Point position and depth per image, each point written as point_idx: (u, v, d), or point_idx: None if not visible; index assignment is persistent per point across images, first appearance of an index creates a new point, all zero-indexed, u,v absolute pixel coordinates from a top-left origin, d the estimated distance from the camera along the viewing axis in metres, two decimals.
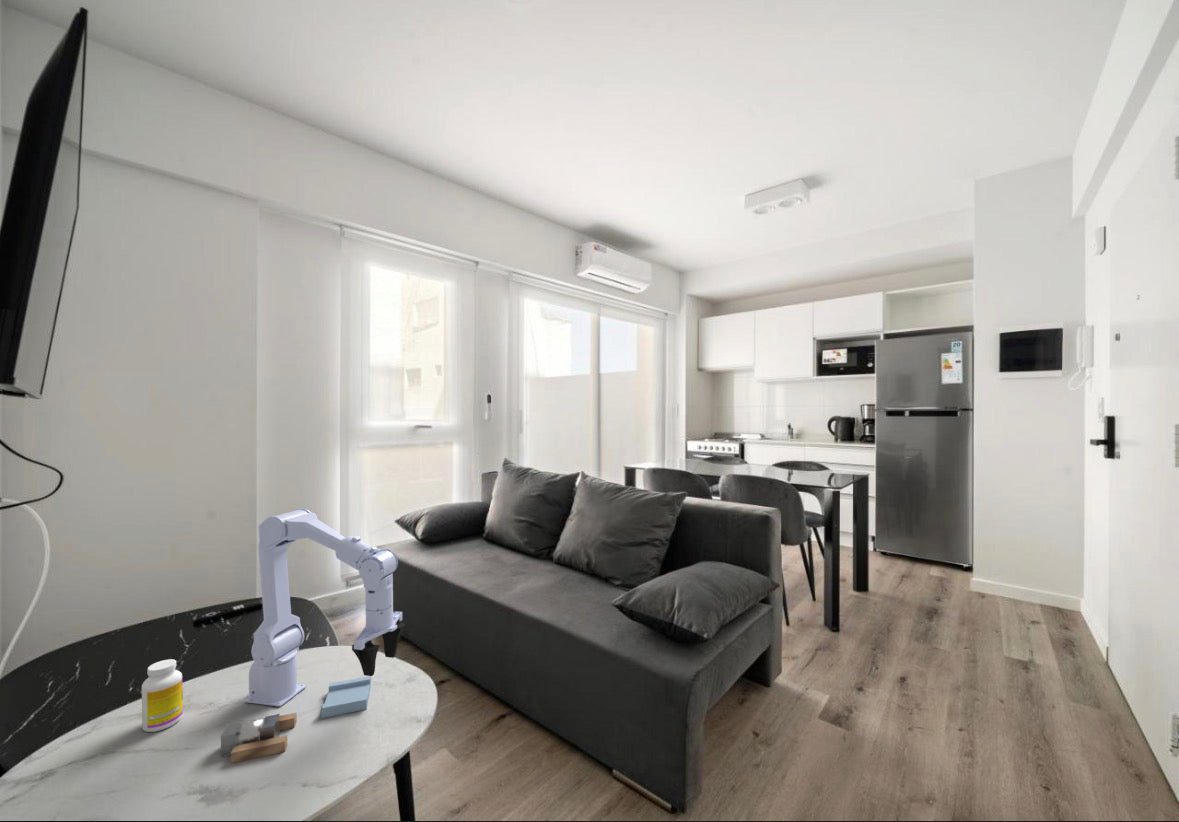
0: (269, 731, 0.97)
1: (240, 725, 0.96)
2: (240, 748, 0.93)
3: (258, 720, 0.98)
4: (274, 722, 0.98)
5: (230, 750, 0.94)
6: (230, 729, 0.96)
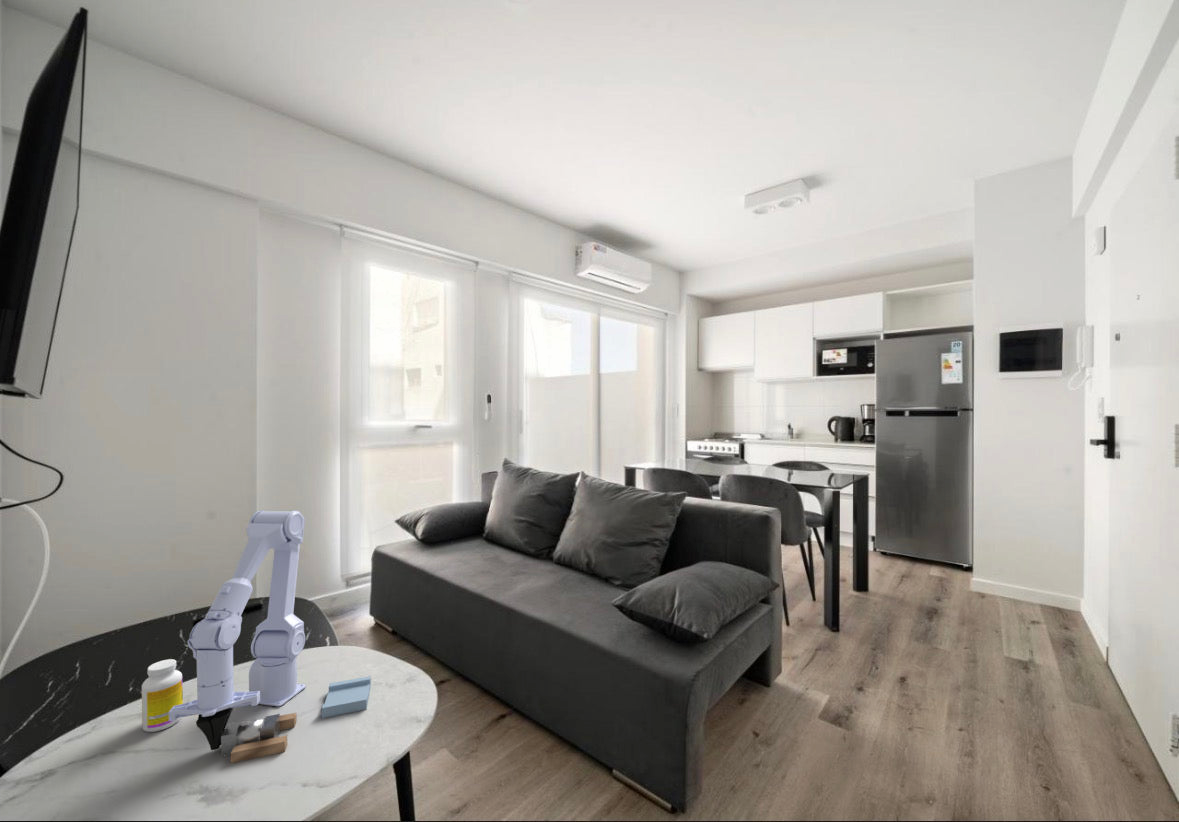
0: (270, 731, 0.97)
1: (240, 725, 0.96)
2: (240, 748, 0.93)
3: (258, 720, 0.98)
4: (274, 722, 0.98)
5: (230, 750, 0.94)
6: (230, 729, 0.96)
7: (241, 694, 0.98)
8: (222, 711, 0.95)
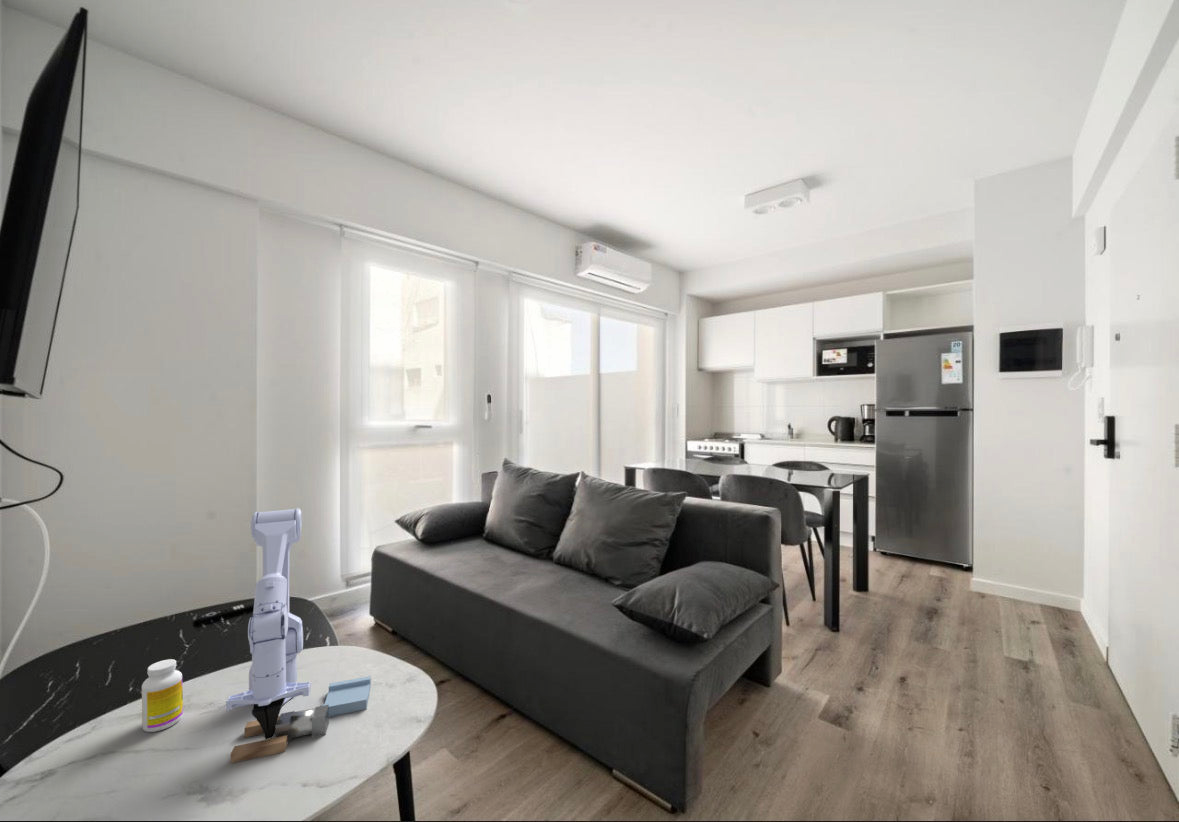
0: (321, 721, 1.00)
1: (293, 715, 0.99)
2: (240, 748, 0.93)
3: (309, 710, 1.01)
4: (325, 712, 1.01)
5: None
6: (283, 719, 0.99)
7: (292, 685, 1.01)
8: (276, 701, 0.98)
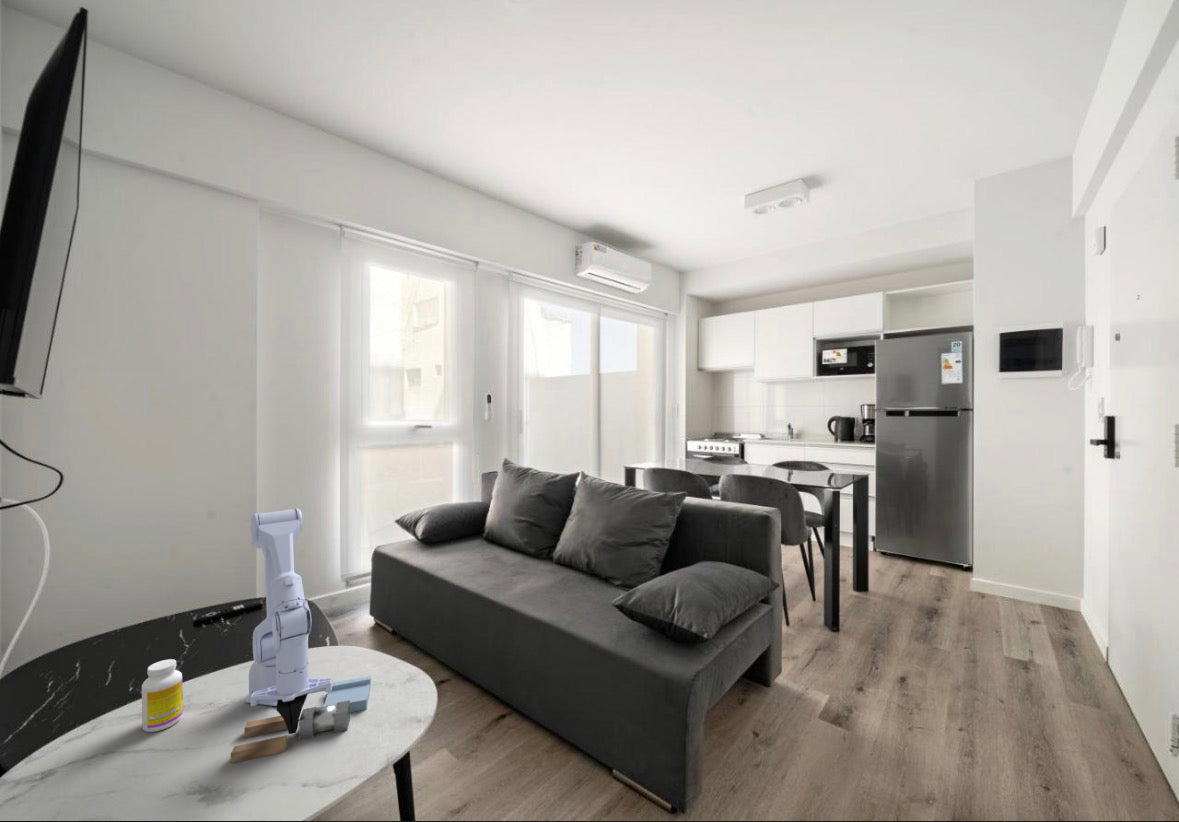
0: (343, 716, 1.01)
1: (315, 710, 1.01)
2: (240, 748, 0.93)
3: (331, 706, 1.02)
4: (347, 708, 1.03)
5: (307, 734, 0.99)
6: (306, 714, 1.00)
7: (315, 681, 1.02)
8: (299, 697, 0.99)
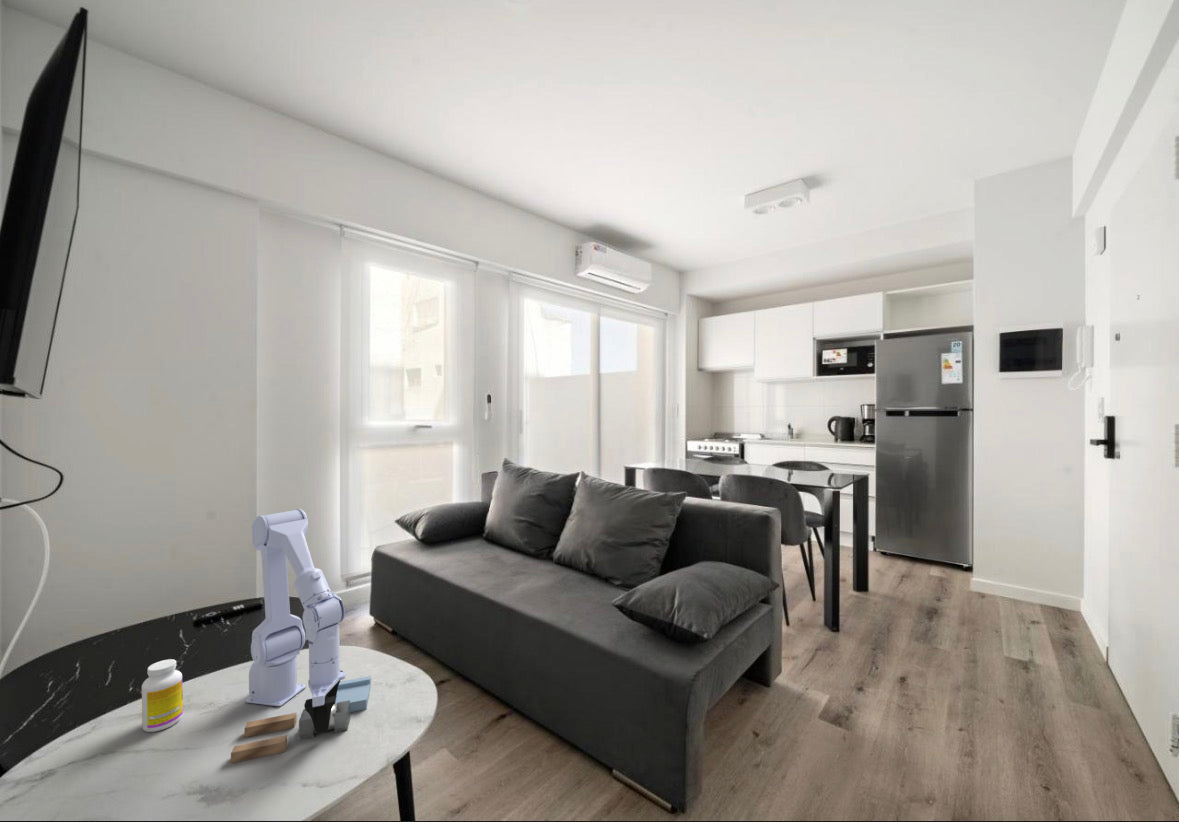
0: (343, 716, 1.01)
1: None
2: (240, 748, 0.93)
3: None
4: (347, 708, 1.03)
5: (307, 734, 0.99)
6: (306, 714, 1.00)
7: None
8: None
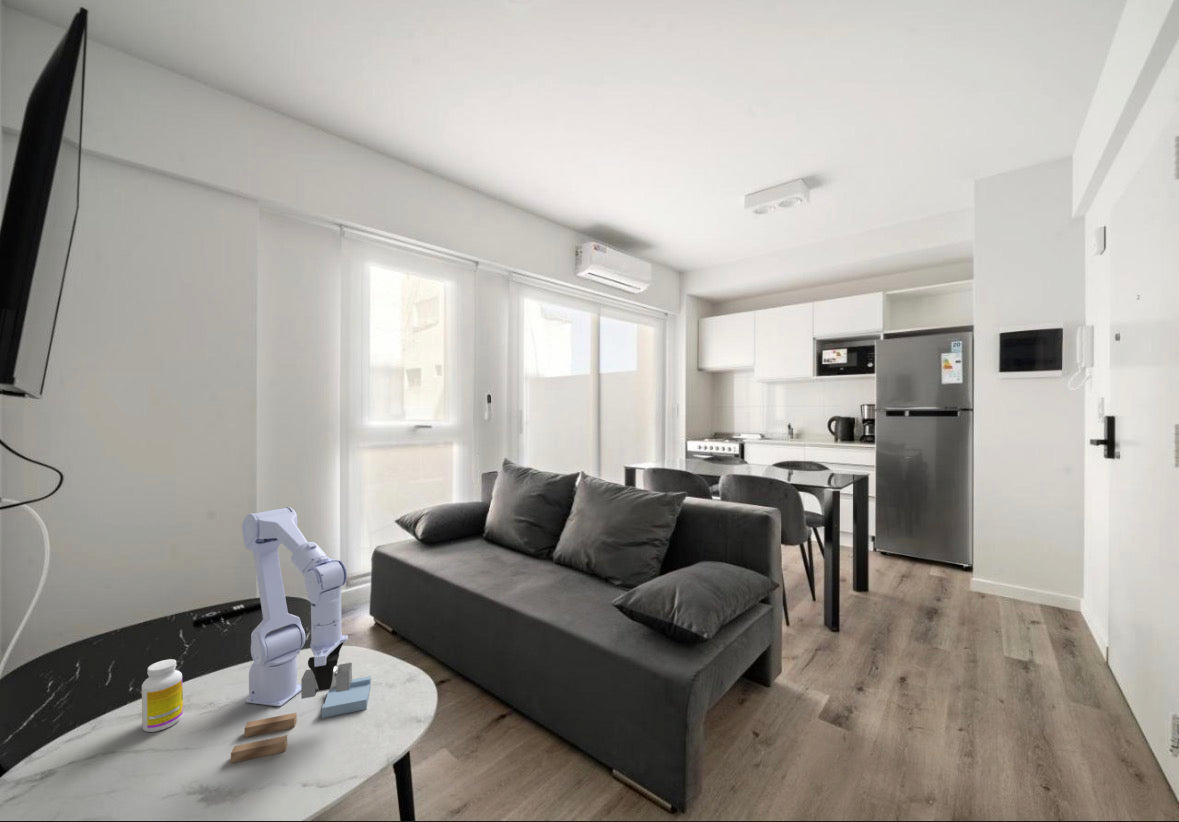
0: (345, 676, 1.02)
1: None
2: (240, 748, 0.93)
3: None
4: (348, 668, 1.04)
5: (309, 693, 1.00)
6: (308, 674, 1.01)
7: None
8: None
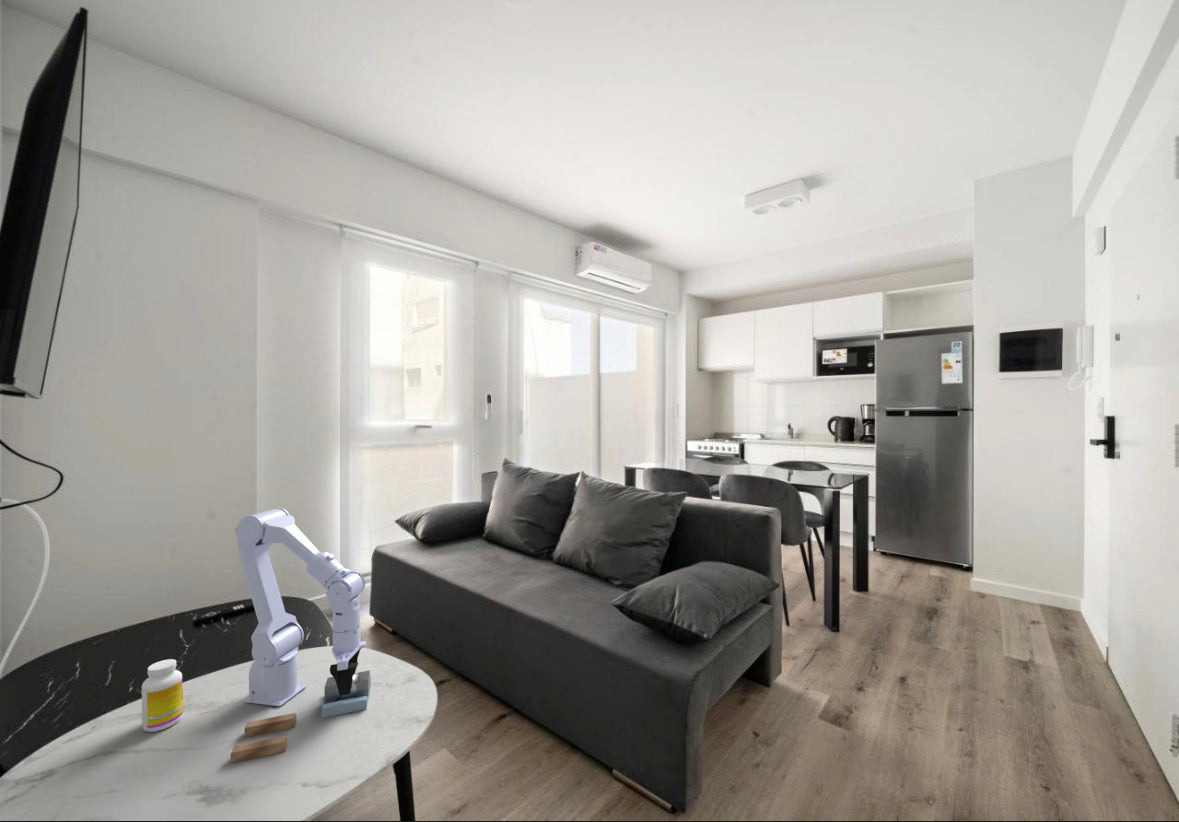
0: (364, 684, 1.11)
1: None
2: (240, 748, 0.93)
3: (353, 675, 1.12)
4: (367, 676, 1.12)
5: (332, 699, 1.09)
6: (331, 682, 1.10)
7: None
8: None
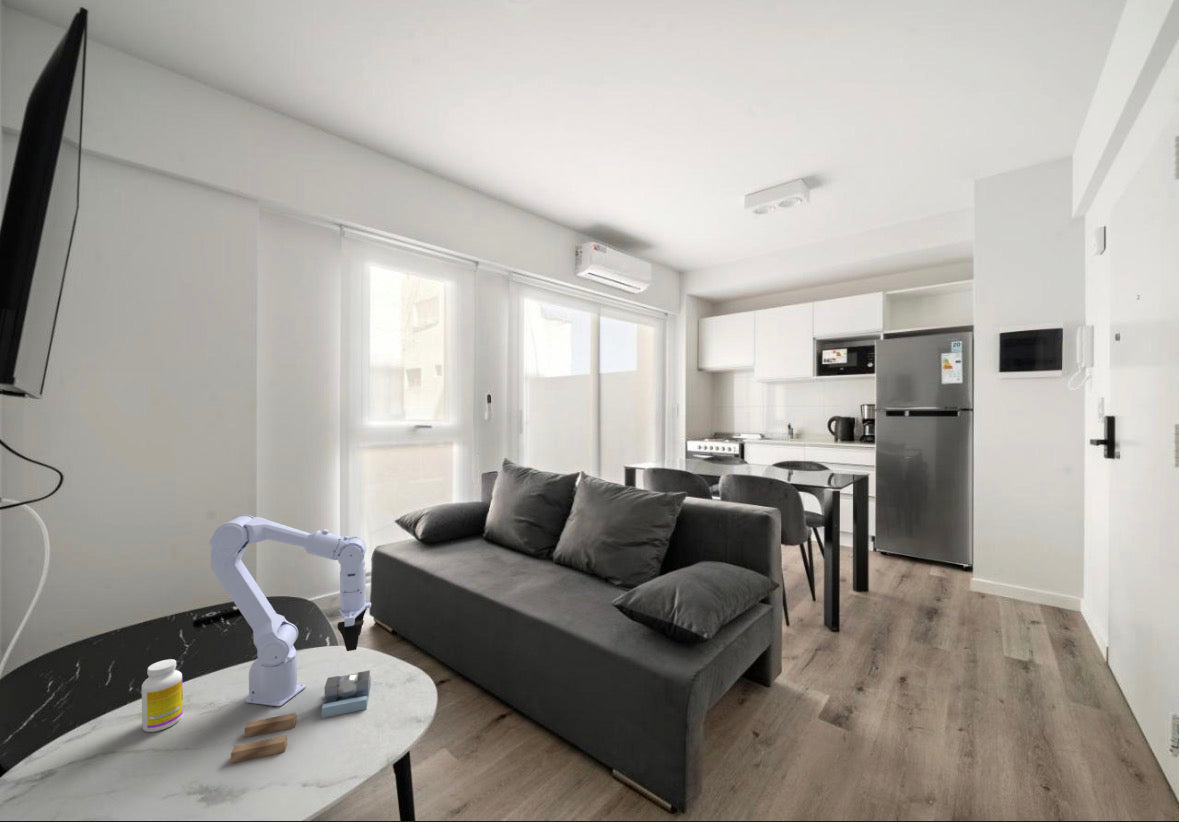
0: (364, 684, 1.11)
1: (339, 678, 1.10)
2: (240, 748, 0.93)
3: (353, 675, 1.12)
4: (367, 676, 1.12)
5: (332, 699, 1.09)
6: (331, 682, 1.10)
7: None
8: None
